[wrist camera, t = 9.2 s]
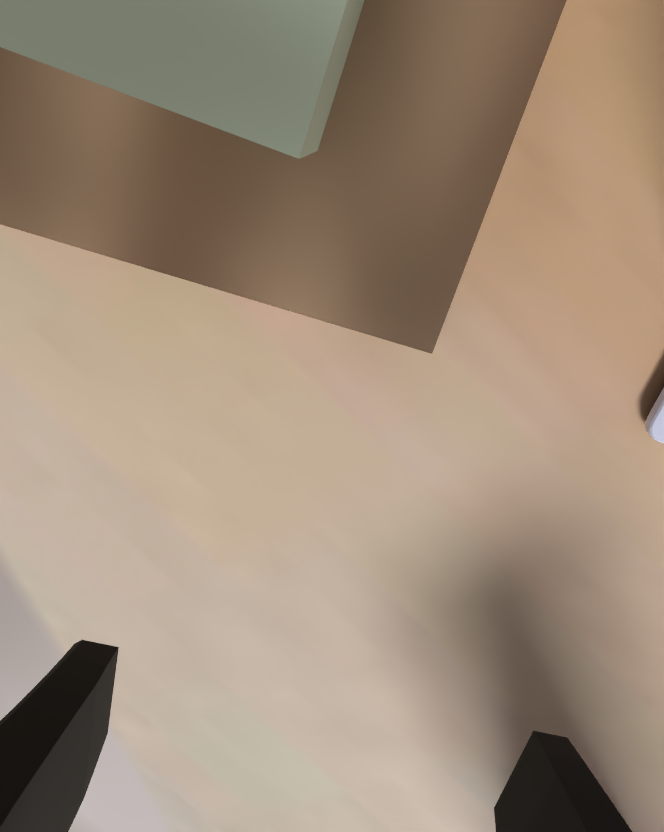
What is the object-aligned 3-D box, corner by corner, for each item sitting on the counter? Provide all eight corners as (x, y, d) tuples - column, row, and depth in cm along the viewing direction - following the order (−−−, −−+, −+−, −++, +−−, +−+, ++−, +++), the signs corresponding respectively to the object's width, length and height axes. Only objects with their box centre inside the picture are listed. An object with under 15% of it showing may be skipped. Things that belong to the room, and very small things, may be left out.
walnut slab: (612, -207, 14) (678, -296, 11) (420, 321, 18) (431, 353, 15) (48, -427, 12) (-38, -589, 10) (-2, 192, 17) (-70, 203, 14)
